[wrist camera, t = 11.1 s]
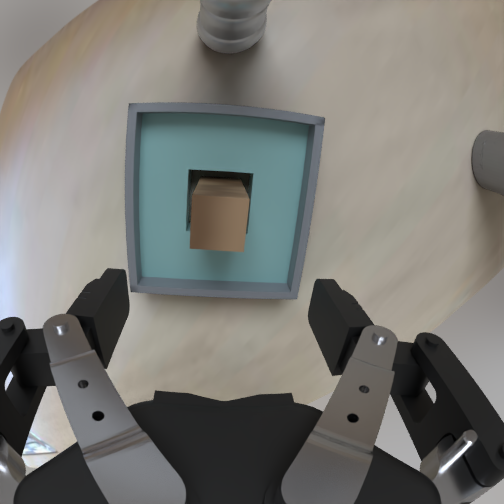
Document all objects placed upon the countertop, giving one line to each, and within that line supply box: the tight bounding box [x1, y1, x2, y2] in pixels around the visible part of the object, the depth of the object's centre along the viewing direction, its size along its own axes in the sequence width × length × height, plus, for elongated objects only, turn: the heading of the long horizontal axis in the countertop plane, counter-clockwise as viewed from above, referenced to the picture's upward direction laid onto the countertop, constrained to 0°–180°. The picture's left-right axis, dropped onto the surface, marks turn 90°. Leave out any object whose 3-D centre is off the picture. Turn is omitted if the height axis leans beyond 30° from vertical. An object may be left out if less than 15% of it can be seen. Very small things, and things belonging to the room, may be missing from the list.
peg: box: [190, 176, 250, 252], centre depth 25 cm, size 4×4×10 cm
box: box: [125, 103, 325, 299], centre depth 27 cm, size 17×18×5 cm
